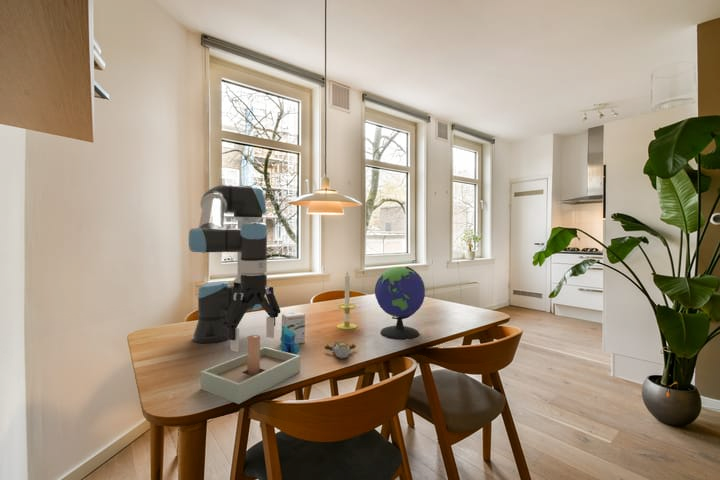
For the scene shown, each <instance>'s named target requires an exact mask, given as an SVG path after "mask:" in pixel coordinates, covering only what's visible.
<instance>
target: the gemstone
mask: <svg viewBox="0 0 720 480" xmlns="http://www.w3.org/2000/svg"><path fill="white" fill-rule="evenodd" d="M295 335H296V334H295V333H294V332H292V331H291V330H289V329H288V328H287V327H285V326H284V325H283V329H282V328H281V335H280V342H282V343H281V345H280V351H284V352H288V353H292V354H296V355H300V354H299V352H300V345H299V344H300V343H299V344H295V342H294V340H295Z"/></svg>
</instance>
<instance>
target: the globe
mask: <svg viewBox="0 0 720 480" xmlns="http://www.w3.org/2000/svg"><path fill="white" fill-rule="evenodd" d="M374 286H375V288H374V295H375V298H376V301H377V304H378V305H379V307H380V308H381V309H382V311H383V312H385V314H388V315H389V316H391V319H394V320H396V324H395V325H391V326H387V327H384V328H382V329H381V330H380V333H379V334H380V335H381V336H382V337H384V338H386V339H390V340H399V341H406V339H409V340H414V338H415V339H416V338H419V337H420V332H419V330H417V329H415V328H414V327H409V326H406V325H404V321H403V320H405V319H408V318H410V317H411V316H413V315H414V314H415V313H416V312H418V311H419V309H421V307H422V305H423V303H424V302H425V301H424V300H425V296H426V289H425V284H424V280H423V279H422V277H421V275H419V273H417V272H416V271H415V270H414V269H412V268H411V267H408V266H405V267H403V266H396V267H392V268H389V269H387V270H385V271H384V272H383V273H382V274H381V275H379V277H378V279H377V281H376V283H375V285H374ZM418 336H419V337H418Z"/></svg>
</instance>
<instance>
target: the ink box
mask: <svg viewBox="0 0 720 480" xmlns="http://www.w3.org/2000/svg"><path fill="white" fill-rule="evenodd" d="M283 325H284V326H285V327H287V328H288V329H289V330H291V331H292V332H294V333H295V334H296V335H295V340H294V342H295V344H296V345H297V344H304V343H305V341H306V314H305V313H304V312H302V311H295V312H287V313H286V312H284V313H282V314H281V330H282V329H283ZM280 342H281V341H280ZM281 344H282V342H281Z"/></svg>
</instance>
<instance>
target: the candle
mask: <svg viewBox="0 0 720 480" xmlns="http://www.w3.org/2000/svg"><path fill="white" fill-rule="evenodd" d="M337 307H338V308H339V309H342V310H344V312H343V313H344V321H343V323H339V324H337V325H336V328H337V329H339V330H346V331H348V330H354V329H357V328H358V325H357V324H355V323H350V321H351V320H350V319H351V317H350V315H351V313H350V312H351V311H350V310H352V309H355V308H356V307H357V306H356V305H355V304H351V303H350V274H349V272H348V271H346V274H345V275H344V304H339V305H337Z"/></svg>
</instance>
